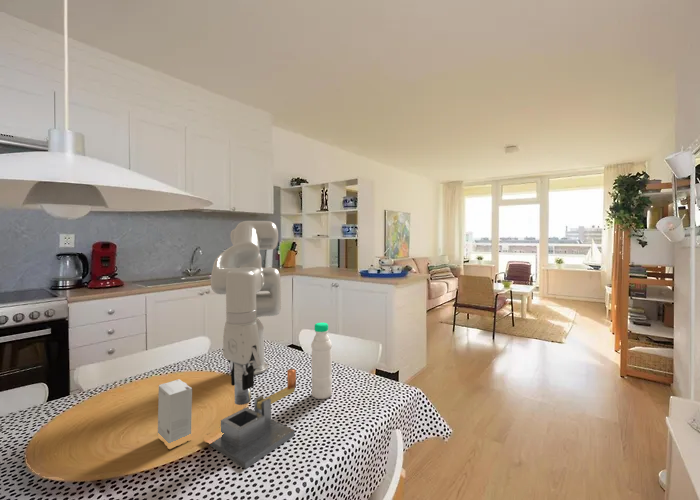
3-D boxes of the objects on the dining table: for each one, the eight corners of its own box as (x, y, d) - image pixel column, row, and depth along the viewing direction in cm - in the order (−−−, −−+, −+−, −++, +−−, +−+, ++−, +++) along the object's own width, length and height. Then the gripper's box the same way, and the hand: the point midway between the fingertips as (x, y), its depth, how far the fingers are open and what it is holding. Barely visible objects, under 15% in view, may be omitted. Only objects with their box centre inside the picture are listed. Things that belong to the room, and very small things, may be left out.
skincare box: (157, 438, 87) (156, 385, 87) (180, 428, 92) (179, 377, 92) (169, 452, 82) (168, 394, 82) (193, 440, 87) (192, 386, 86)
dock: (203, 441, 86) (202, 408, 86) (253, 415, 99) (252, 386, 99) (245, 469, 76) (244, 431, 75) (294, 435, 89) (294, 403, 88)
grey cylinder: (228, 402, 85) (228, 357, 84) (244, 394, 89) (244, 351, 89) (240, 407, 82) (239, 361, 82) (256, 399, 86) (255, 355, 86)
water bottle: (329, 401, 108) (328, 326, 107) (308, 399, 109) (308, 325, 108) (334, 391, 115) (333, 321, 114) (315, 389, 116) (314, 320, 115)
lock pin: (255, 407, 91) (255, 384, 90) (291, 388, 102) (291, 368, 102) (261, 410, 89) (261, 386, 89) (297, 391, 100) (297, 370, 100)
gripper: (210, 315, 87) (211, 383, 87) (249, 324, 77) (250, 400, 77) (234, 310, 93) (235, 373, 93) (274, 318, 83) (274, 388, 83)
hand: (242, 385), depth 85 cm, fingers closed on grey cylinder, 4 cm apart
